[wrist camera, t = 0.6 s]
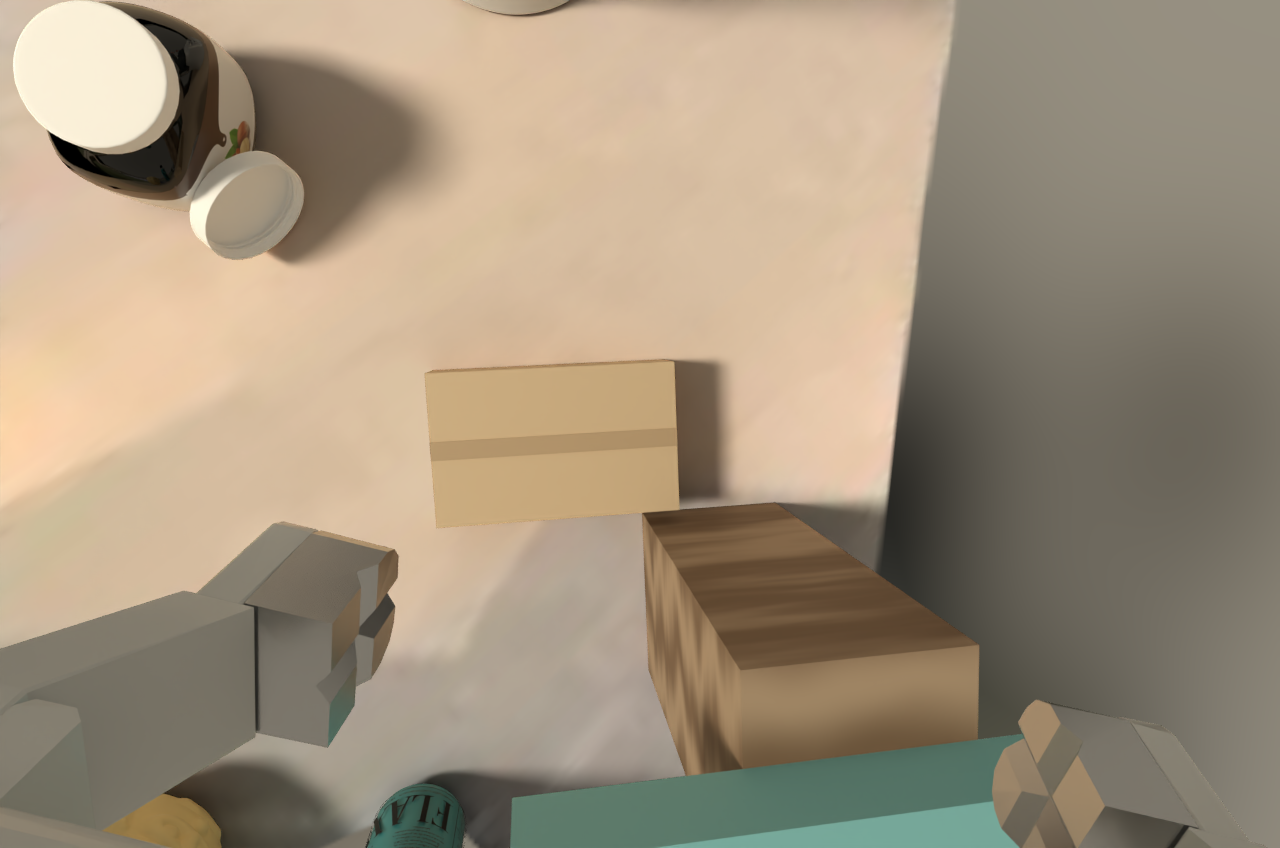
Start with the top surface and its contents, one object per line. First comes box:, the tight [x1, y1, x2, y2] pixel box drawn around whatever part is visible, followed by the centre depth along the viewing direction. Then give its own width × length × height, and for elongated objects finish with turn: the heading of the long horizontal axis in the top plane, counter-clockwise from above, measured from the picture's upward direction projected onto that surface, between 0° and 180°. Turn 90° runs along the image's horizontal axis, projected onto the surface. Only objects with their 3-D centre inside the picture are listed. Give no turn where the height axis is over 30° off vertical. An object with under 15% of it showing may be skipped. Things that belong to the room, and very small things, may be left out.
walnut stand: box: [642, 503, 979, 776], centre depth 44 cm, size 12×10×26 cm
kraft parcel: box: [425, 359, 679, 528], centre depth 51 cm, size 10×16×4 cm, turn 92°
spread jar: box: [13, 0, 304, 260], centre depth 42 cm, size 12×11×12 cm
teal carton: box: [510, 734, 1023, 848], centre depth 29 cm, size 4×22×4 cm, turn 92°
